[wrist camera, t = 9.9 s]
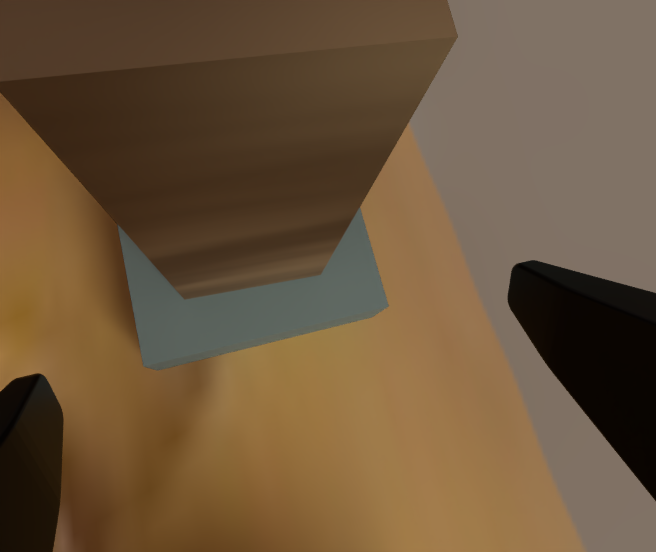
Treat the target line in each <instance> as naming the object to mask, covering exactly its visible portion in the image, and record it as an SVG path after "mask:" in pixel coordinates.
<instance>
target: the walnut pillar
mask: <svg viewBox="0 0 656 552" xmlns="http://www.w3.org/2000/svg"><path fill="white" fill-rule="evenodd" d="M457 37H458V35H457V32H456V29H455V25H454V22H453V18H452V15H451V11H450V9H449V5H448V1H447V0H0V92H1V93H2V94H3V96H4V97H5V98H6V99H7V100H8V101H9V102H10V103H11V105H12V106H13V107H14V108H15V109H16V110H17V111H18V112H19V114H20V115H21V116H22V117H23V118H24V119H25V120H26V122H27V123H28V124H29V125H30V126H31V127H32V128H33V129H34V131H35V132H36V133H37V134H38V135H39V136H40V137H41V138H42V140H43V141H44V142H45V143H46V144H47V145H48V146H49V147H50V149H51V150H52V151H53V152H54V153H55V154H56V155H57V156H58V158H59V159H60V160H61V161H62V162H63V163H64V164H65V165H66V167H67V168H68V169H69V170H70V171H71V172H72V173H73V174H74V176H75V177H76V178H77V179H78V180H79V181H80V182H81V183H82V185H83V186H84V187H85V188H86V189H87V190H88V191H89V193H90V194H91V195H92V196H93V197H94V198H95V199H96V200H97V202H98V203H99V204H100V205H101V206H102V207H103V208H104V209H105V211H106V212H107V213H108V214H109V215H110V216H111V217H112V218H113V220H114V221H115V222H116V223H117V224H118V225H119V226H120V227H121V229H122V230H123V231H124V232H125V233H126V234H127V235H128V236H129V238H130V239H131V240H132V241H133V242H134V243H135V244H136V245H137V247H138V248H139V249H140V250H141V251H142V252H143V253H144V254H145V256H146V257H147V258H148V259H149V260H150V261H151V262H152V264H153V265H154V266H155V267H156V268H157V269H158V270H159V271H160V273H161V274H162V275H163V276H164V277H165V278H166V279H167V280H168V282H169V283H170V284H171V285H172V286H173V287H174V288H175V289H176V291H177V292H178V293H179V294H180V295H181V296H182V297H183V298H184V300H186V299H191V298H197V297H202V296H208V295H213V294H219V293H224V292H230V291H235V290H241V289H246V288H252V287H257V286H263V285H268V284H274V283H279V282H285V281H290V280H296V279H301V278H307V277H312V276H318V275H321V274H322V272H323V270H324V268H325V267H326V265H327V263H328V261H329V260H330V258H331V256H332V254H333V253H334V251H335V249H336V247H337V246H338V244H339V242H340V241H341V239H342V237H343V235H344V234H345V232H346V230H347V228H348V227H349V225H350V223H351V221H352V220H353V218H354V216H355V214H356V213H357V211H358V209H359V208H360V206H361V204H362V202H363V201H364V199H365V197H366V195H367V194H368V192H369V190H370V188H371V187H372V185H373V183H374V181H375V180H376V178H377V176H378V175H379V173H380V171H381V169H382V168H383V166H384V164H385V162H386V161H387V159H388V157H389V155H390V154H391V152H392V150H393V148H394V147H395V145H396V143H397V141H398V140H399V138H400V136H401V135H402V133H403V131H404V129H405V128H406V126H407V124H408V122H409V121H410V119H411V117H412V115H413V114H414V112H415V110H416V108H417V107H418V105H419V103H420V101H421V100H422V98H423V96H424V94H425V93H426V91H427V89H428V88H429V86H430V84H431V82H432V81H433V79H434V77H435V75H436V74H437V72H438V70H439V69H440V67H441V65H442V63H443V61H444V60H445V58H446V56H447V54H448V53H449V51H450V49H451V48H452V46H453V44H454V42H455V41H456V39H457Z"/></svg>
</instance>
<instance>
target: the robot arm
mask: <svg viewBox="0 0 656 552" xmlns="http://www.w3.org/2000/svg"><path fill="white" fill-rule="evenodd" d="M508 304H509V307H510V309H511V311H512V312H513V313H514V315H515V317H516V318H517V320H518V321H519V323H520V324H521V326H522V328H523V329H524V331H525V332H526V334H527V335H528V337H529V339H530V340H531V342H532V343H533V345H534V346H535V348H536V349H537V351H538V353H539V354H540V356H541V357H542V358H543V360H544V361H545V363H546V364H547V366H548V367H549V368H550V370H551V371H552V372H553V374H554V375H555V376H556V377H557V379H558V380H559V381H560V382H561V383H562V385H563V386H564V387H565V389H566V390H567V391H568V392H569V394H570V395H571V396H572V397H573V399H574V400H575V401H576V402H577V404H578V405H579V406H580V407H581V409H582V410H583V411H584V412H585V414H586V415H587V416H588V417H589V419H590V420H591V421H592V422H593V424H594V425H595V426H596V427H597V429H598V430H599V431H600V432H601V433H602V435H603V436H604V437H605V438H606V440H607V441H608V442H609V443H610V445H611V446H612V447H613V448H614V450H615V451H616V452H617V453H618V455H619V456H620V457H621V458H622V460H623V461H624V462H625V463H626V464H627V466H628V467H629V468H630V470H631V471H632V472H633V473H634V475H635V476H636V477H637V478H638V480H639V481H640V482H641V483H642V485H643V486H644V487H645V488H646V490H647V491H648V492H649V493H650V495H651V496H652V497H653V498H654V500H655V501H656V293H653V292H650V291H646V290H642V289H639V288H635V287H631V286H628V285H624V284H620V283H616V282H613V281H609V280H605V279H602V278H598V277H594V276H591V275H587V274H583V273H580V272H576V271H572V270H568V269H565V268H561V267H558V266H554V265H550V264H547V263H543V262H539V261H535V260H531V261H526V262H522V263H518V264H516V265H515V266H514V267H513V268H512V271H511V278H510V285H509V291H508ZM62 447H63V412H62V409H61V406H60V404H59V402H58V400H57V398H56V396H55V394H54V392H53V390H52V388H51V386H50V384H49V382H48V381H47V379H46V377H45V376H44V375H42V374H39V373H38V374H33V375H28V376H24V377H20V378H16V379H14V380H13V381H11V382H10V383H9V384H8V385H7V386H6V387H5V388H4V389H3V390H2V391H1V392H0V552H53V546H54V540H55V534H56V528H57V522H58V515H59V507H60V497H61V476H62Z"/></svg>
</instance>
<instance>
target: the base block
mask: <svg viewBox="0 0 656 552" xmlns="http://www.w3.org/2000/svg"><path fill="white" fill-rule="evenodd" d="M117 225H118V224H117ZM118 231H119V236H120V242H121V247H122V253H123V258H124V263H125V269H126V274H127V280H128V285H129V291H130V296H131V301H132V307H133V312H134V318H135V323H136V329H137V334H138V339H139V345H140V350H141V356H142V361H143V366H144V367H147V368H151V369H154V370H162V369H166V368H170V367H174V366H178V365H182V364H186V363H190V362H194V361H198V360H202V359H206V358H210V357H214V356H218V355H222V354H226V353H230V352H234V351H238V350H242V349H246V348H250V347H254V346H258V345H262V344H267V343H271V342H275V341H279V340H283V339H287V338H291V337H295V336H299V335H303V334H307V333H311V332H315V331H319V330H323V329H327V328H331V327H335V326H339V325H343V324H347V323H351V322H355V321H359V320H363V319H367V318H371V317H373V316H375V315H376V314H378V313H379V312H381V311H382V310H384V309H385V308H387V307H388V302H387V299H386V296H385V292H384V289H383V285H382V282H381V278H380V275H379V271H378V268H377V265H376V261H375V258H374V254H373V251H372V247H371V244H370V240H369V237H368V234H367V230H366V227H365V223H364V220H363V216H362V213H361V210H360V208H359V209H358V211H357V213H356V214H355V216H354V218H353V220H352V221H351V223H350V225H349V227H348V228H347V230H346V232H345V234H344V235H343V237H342V239H341V241H340V242H339V244H338V246H337V247H336V249H335V251H334V253H333V254H332V256H331V258H330V260H329V261H328V263H327V265H326V267H325V268H324V270H323V272H322V274H321V275H318V276H312V277H307V278H301V279H296V280H290V281H285V282H279V283H274V284H268V285H263V286H257V287H252V288H246V289H241V290H235V291H230V292H224V293H219V294H213V295H208V296H202V297H197V298H191V299H186V300H184V298H183V297H182V296H181V295H180V294H179V293H178V292H177V291H176V289H175V288H174V287H173V286H172V285H171V284H170V283H169V282H168V280H167V279H166V278H165V277H164V276H163V275H162V274H161V273H160V271H159V270H158V269H157V268H156V267H155V266H154V265H153V264H152V262H151V261H150V260H149V259H148V258H147V257H146V256H145V254H144V253H143V252H142V251H141V250H140V249H139V248H138V247H137V245H136V244H135V243H134V242H133V241H132V240H131V239H130V238H129V236H128V235H127V234H126V233H125V232H124V231H123V230H122V229H121V227H120V226H119V225H118Z"/></svg>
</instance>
